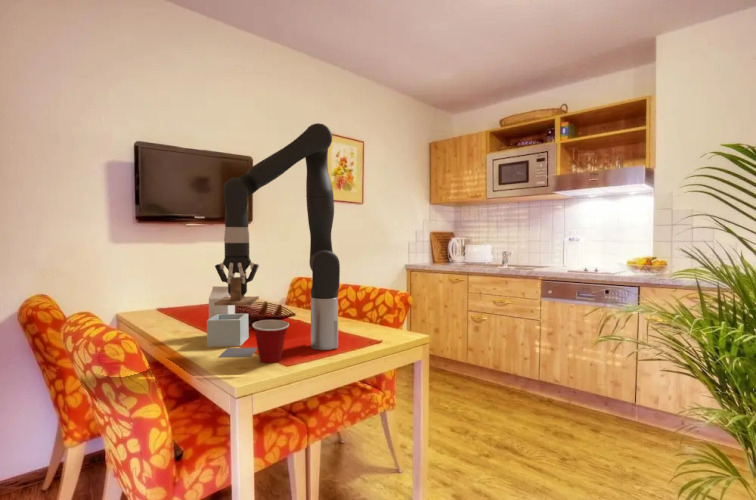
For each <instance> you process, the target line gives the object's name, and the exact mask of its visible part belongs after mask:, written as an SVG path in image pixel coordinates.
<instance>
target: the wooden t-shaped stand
mask: <svg viewBox="0 0 756 500" xmlns="http://www.w3.org/2000/svg"><path fill="white" fill-rule="evenodd" d="M241 284H242V282H241V277H240V276H234V278H231V279H230V293H231V297H224V298H222V299H221V300H219V301H217V302H215V303H214V306H221V305H235V306H252V305H253V304H254V303H256V302H257V301H258V300H259V298H260V296H245V295H242V290H241Z"/></svg>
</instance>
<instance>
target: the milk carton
mask: <svg viewBox="0 0 756 500" xmlns="http://www.w3.org/2000/svg"><path fill="white" fill-rule="evenodd" d="M224 297H231V296H230V294H229V293H228V285H227V286H220V285H219V286H212V290H211V292H210V294H209V297H208V319H210V318H212V317H213V316H215V315H217V314H236V305H221V306H214V303H215V302H217V301H219V300H221V299H222V298H224Z"/></svg>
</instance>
